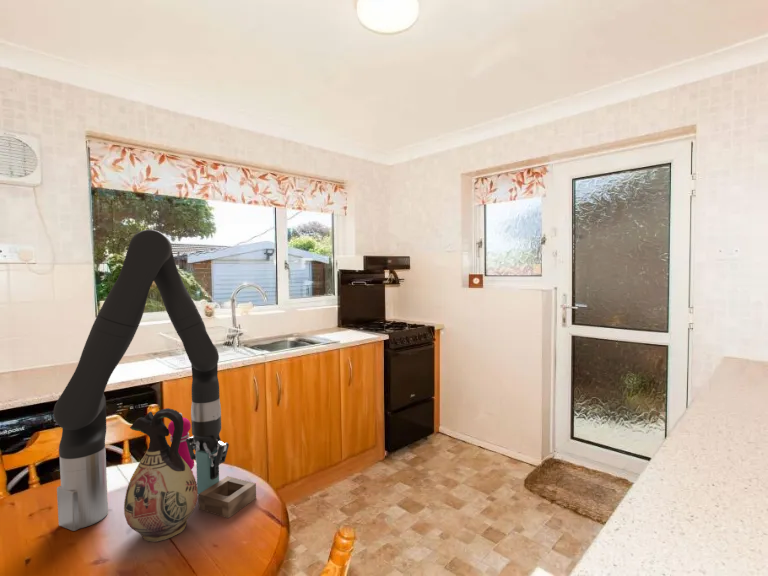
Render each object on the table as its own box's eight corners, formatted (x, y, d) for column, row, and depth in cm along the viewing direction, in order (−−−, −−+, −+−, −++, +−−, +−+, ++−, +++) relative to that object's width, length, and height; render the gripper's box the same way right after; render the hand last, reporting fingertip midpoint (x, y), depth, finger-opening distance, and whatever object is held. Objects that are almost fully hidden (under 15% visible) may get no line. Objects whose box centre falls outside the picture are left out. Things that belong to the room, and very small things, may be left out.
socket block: (228, 518, 104) (228, 502, 104) (199, 509, 108) (198, 494, 108) (256, 497, 113) (255, 483, 113) (227, 490, 117) (227, 476, 117)
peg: (208, 497, 113) (206, 453, 113) (197, 494, 115) (196, 451, 114) (219, 490, 117) (218, 447, 116) (208, 487, 119) (207, 445, 118)
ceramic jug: (108, 550, 93) (102, 417, 91) (155, 509, 108) (151, 395, 106) (178, 556, 90) (173, 420, 89) (217, 514, 106) (213, 397, 104)
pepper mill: (184, 487, 119) (181, 418, 118) (161, 485, 120) (159, 416, 119) (200, 474, 126) (197, 409, 125) (178, 472, 127) (176, 408, 126)
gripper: (176, 416, 114) (178, 477, 115) (215, 424, 109) (217, 488, 109) (198, 408, 121) (200, 465, 122) (236, 414, 115) (237, 475, 116)
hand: (208, 476), depth 116 cm, fingers closed on peg, 4 cm apart
